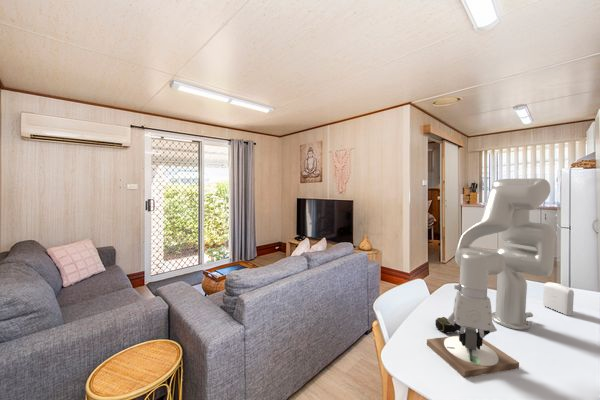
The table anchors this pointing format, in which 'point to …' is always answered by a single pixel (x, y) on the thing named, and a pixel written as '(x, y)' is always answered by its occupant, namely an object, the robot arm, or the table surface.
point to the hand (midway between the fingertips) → (470, 344)
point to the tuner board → (469, 368)
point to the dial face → (479, 356)
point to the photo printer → (558, 298)
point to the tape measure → (445, 325)
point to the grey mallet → (470, 340)
